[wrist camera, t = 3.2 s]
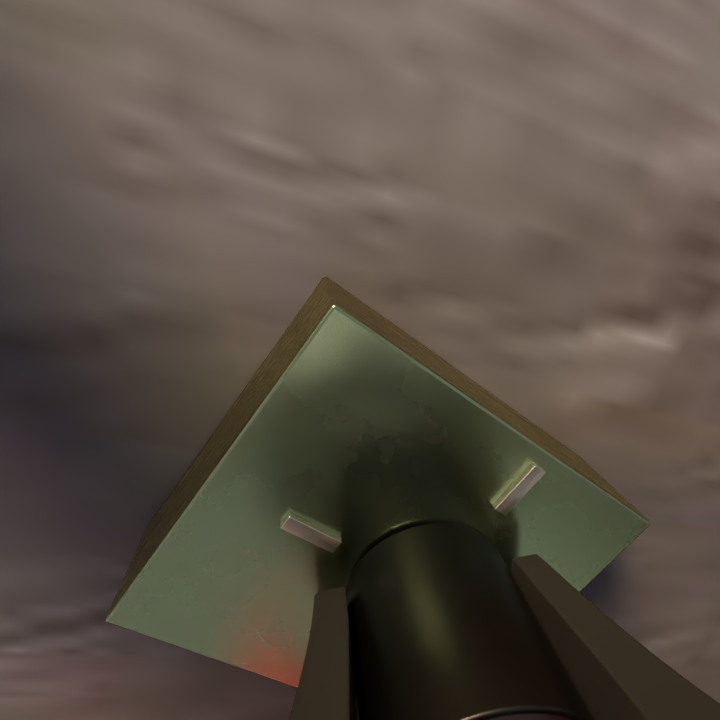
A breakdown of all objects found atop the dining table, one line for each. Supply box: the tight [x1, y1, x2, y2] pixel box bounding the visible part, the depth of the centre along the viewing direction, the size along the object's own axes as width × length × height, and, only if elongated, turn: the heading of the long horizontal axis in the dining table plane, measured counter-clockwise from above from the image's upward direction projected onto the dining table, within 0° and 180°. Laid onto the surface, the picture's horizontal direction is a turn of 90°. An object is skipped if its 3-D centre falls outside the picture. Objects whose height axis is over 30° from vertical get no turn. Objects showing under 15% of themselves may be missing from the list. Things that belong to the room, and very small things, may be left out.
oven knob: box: [346, 523, 594, 720], centre depth 9 cm, size 4×4×4 cm
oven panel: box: [106, 277, 650, 688], centre depth 12 cm, size 10×9×3 cm
